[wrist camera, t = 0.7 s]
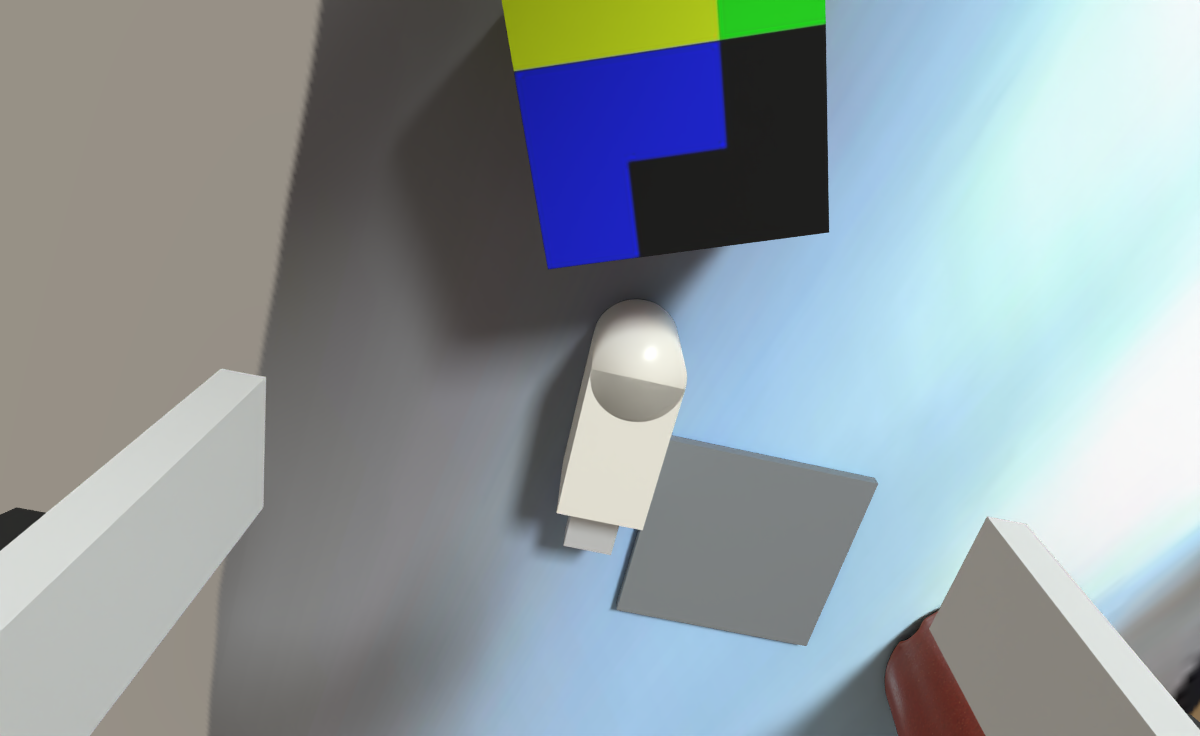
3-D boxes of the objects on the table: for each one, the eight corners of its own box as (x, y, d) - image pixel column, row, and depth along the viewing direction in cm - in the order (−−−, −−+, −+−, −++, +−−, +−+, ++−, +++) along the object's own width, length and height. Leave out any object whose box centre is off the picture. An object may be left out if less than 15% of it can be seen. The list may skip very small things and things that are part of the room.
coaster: (666, 434, 40) (667, 439, 40) (874, 478, 41) (878, 483, 40) (616, 602, 45) (616, 609, 44) (803, 638, 46) (806, 646, 45)
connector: (603, 290, 37) (602, 324, 32) (688, 309, 37) (698, 345, 33) (551, 508, 42) (544, 564, 38) (626, 523, 42) (627, 580, 38)
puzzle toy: (564, 213, 36) (547, 269, 26) (528, -17, 32) (493, -45, 22) (772, 184, 35) (828, 232, 26) (761, -54, 31) (823, -99, 22)
